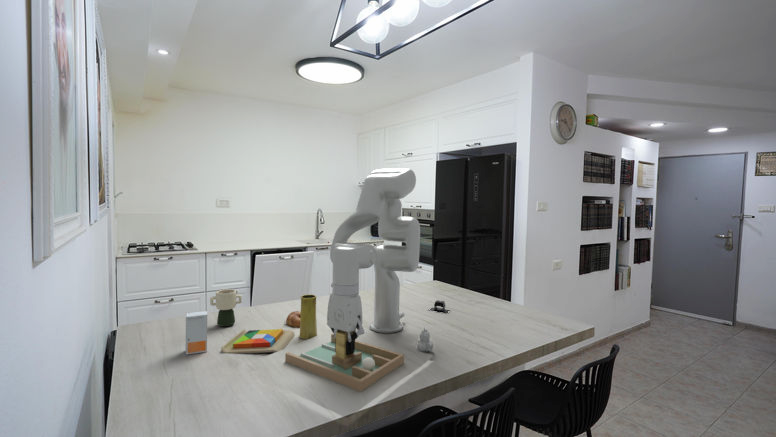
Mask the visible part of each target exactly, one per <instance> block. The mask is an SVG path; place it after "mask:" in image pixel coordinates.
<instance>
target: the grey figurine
mask: <svg viewBox="0 0 776 437" xmlns="http://www.w3.org/2000/svg"><path fill="white" fill-rule="evenodd" d="M430 338H431V335H430V332H429V331H428V329H426V328H425V327H423V330H421V332H420V334H419V340H417V343H416V348H417V350H418V351H419V352H421V353H424V354H425V353H428V352H433V351H434V342H433V341H432V340H430Z"/></svg>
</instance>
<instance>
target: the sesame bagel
mask: <svg viewBox="0 0 776 437" xmlns="http://www.w3.org/2000/svg"><path fill="white" fill-rule="evenodd" d="M300 319H301V311H298V310H296V311H292V312H290V313H288V315H287V317H286V319H285V320H286V324H287V325H288V326H289V327H294V328H300Z"/></svg>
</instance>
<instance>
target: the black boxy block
mask: <svg viewBox="0 0 776 437" xmlns="http://www.w3.org/2000/svg"><path fill="white" fill-rule="evenodd" d="M446 306H447V305H446V302H445V301H444V300H437V299H436V301H434V304H433V307H432V308H431V307H430V308H431V309H430V308H429V309H430V310H429V309H428V310H427V312H433V311H437V312H436V313H440V312H443V313H442V314H447V313H448V311H450V310H451V309H447V308H446ZM450 312H451V311H450ZM448 314H449V313H448Z"/></svg>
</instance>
